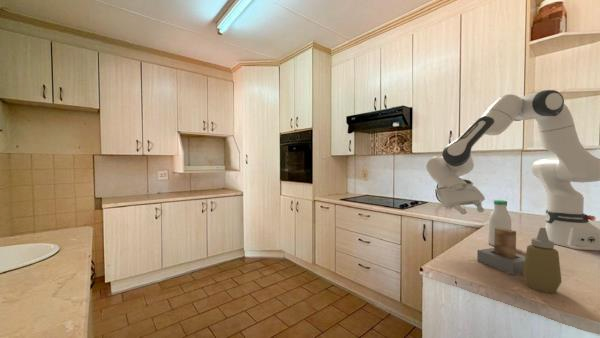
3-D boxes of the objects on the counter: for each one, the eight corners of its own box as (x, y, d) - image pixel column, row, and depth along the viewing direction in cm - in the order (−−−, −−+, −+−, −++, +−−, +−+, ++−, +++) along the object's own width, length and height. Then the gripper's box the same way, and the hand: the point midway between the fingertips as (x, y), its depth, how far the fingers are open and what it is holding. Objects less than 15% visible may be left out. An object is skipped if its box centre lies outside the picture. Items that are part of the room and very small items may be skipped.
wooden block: (494, 260, 88) (494, 228, 88) (500, 259, 89) (500, 227, 89) (509, 266, 83) (510, 232, 83) (515, 265, 84) (516, 231, 84)
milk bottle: (511, 249, 101) (512, 202, 101) (488, 245, 106) (489, 200, 105) (510, 244, 108) (511, 200, 107) (488, 241, 112) (489, 198, 111)
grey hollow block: (477, 260, 91) (477, 250, 90) (496, 257, 93) (497, 247, 93) (513, 275, 79) (513, 263, 79) (534, 271, 82) (534, 259, 82)
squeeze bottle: (566, 299, 65) (568, 233, 65) (526, 290, 70) (527, 229, 69) (555, 286, 72) (557, 226, 71) (519, 279, 76) (520, 223, 76)
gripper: (437, 183, 102) (458, 210, 93) (474, 180, 108) (497, 206, 99) (429, 192, 107) (448, 219, 98) (464, 189, 112) (486, 214, 103)
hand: (473, 212), depth 98 cm, fingers open, 8 cm apart
